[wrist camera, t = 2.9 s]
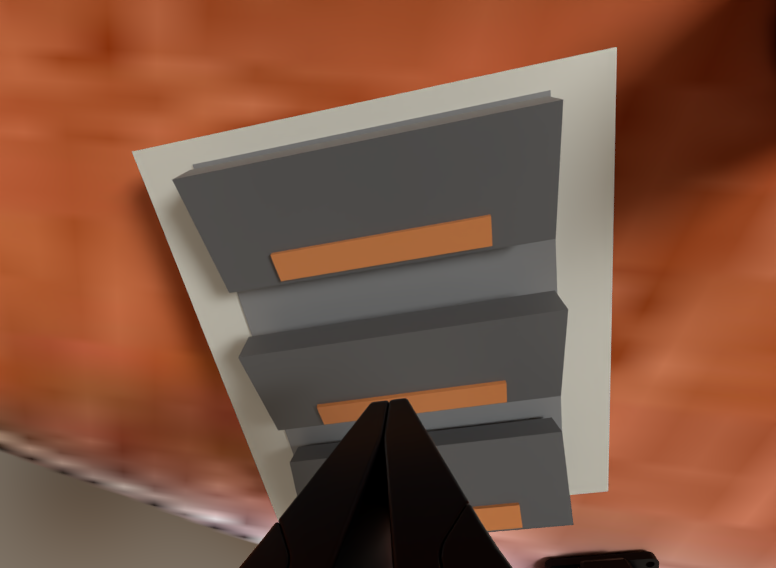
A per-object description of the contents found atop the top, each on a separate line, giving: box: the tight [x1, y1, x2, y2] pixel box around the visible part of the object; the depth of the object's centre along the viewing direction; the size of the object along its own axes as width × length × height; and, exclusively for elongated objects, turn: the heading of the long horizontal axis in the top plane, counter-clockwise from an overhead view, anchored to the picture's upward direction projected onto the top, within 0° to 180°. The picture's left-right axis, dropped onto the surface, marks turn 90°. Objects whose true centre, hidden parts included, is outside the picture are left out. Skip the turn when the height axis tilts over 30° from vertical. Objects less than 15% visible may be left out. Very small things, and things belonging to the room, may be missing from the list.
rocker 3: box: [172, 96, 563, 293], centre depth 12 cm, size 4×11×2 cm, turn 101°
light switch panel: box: [132, 47, 617, 521], centre depth 16 cm, size 21×16×3 cm
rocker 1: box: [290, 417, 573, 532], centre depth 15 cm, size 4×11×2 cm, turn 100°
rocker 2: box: [238, 290, 568, 430], centre depth 14 cm, size 4×11×2 cm, turn 101°
